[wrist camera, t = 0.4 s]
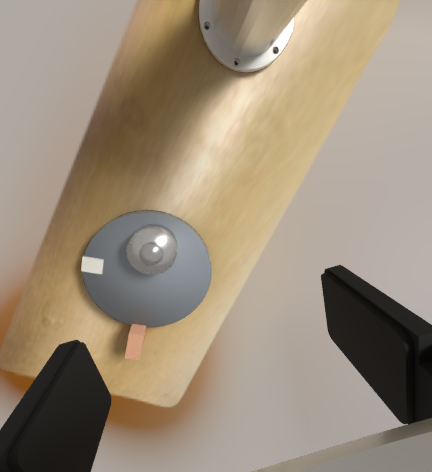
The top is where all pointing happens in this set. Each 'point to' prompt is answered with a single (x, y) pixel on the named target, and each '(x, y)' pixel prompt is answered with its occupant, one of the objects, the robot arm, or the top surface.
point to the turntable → (145, 276)
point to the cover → (152, 249)
